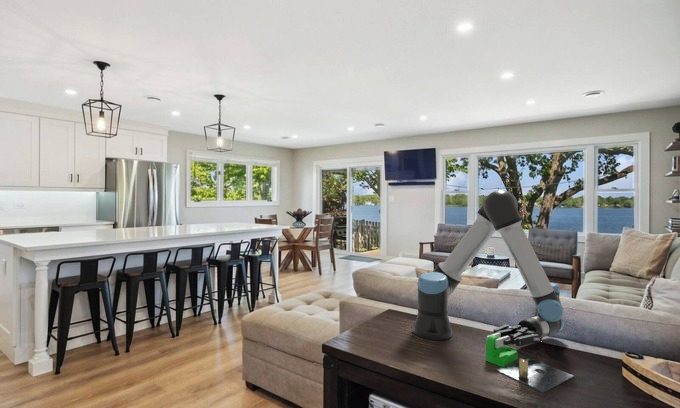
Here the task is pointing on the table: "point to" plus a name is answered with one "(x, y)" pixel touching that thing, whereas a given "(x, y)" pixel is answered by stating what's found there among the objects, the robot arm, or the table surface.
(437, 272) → the robot arm
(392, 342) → the table surface
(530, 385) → the bolt plate
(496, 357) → the mechanical part
